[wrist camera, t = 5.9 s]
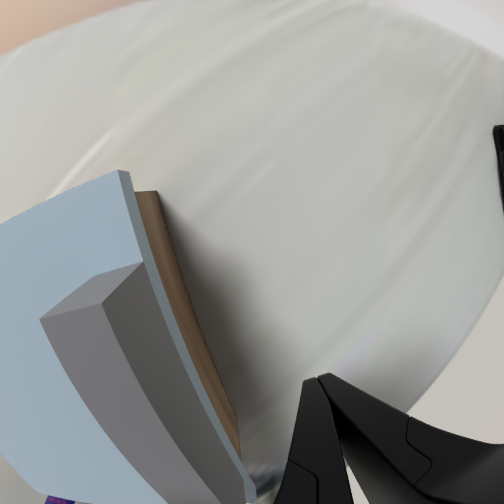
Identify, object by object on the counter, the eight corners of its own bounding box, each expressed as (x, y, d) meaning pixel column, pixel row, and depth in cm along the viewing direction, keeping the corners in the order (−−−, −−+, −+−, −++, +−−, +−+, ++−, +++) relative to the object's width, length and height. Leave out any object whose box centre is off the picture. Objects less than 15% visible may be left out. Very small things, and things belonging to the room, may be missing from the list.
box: (156, 190, 13) (120, 192, 8) (237, 419, 16) (243, 482, 11) (-25, 265, 12) (-74, 288, 8) (64, 435, 16) (42, 478, 11)
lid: (128, 171, 8) (59, 162, 4) (255, 486, 11) (264, 548, 7) (-80, 281, 7) (-124, 304, 3) (42, 482, 11) (25, 521, 7)
